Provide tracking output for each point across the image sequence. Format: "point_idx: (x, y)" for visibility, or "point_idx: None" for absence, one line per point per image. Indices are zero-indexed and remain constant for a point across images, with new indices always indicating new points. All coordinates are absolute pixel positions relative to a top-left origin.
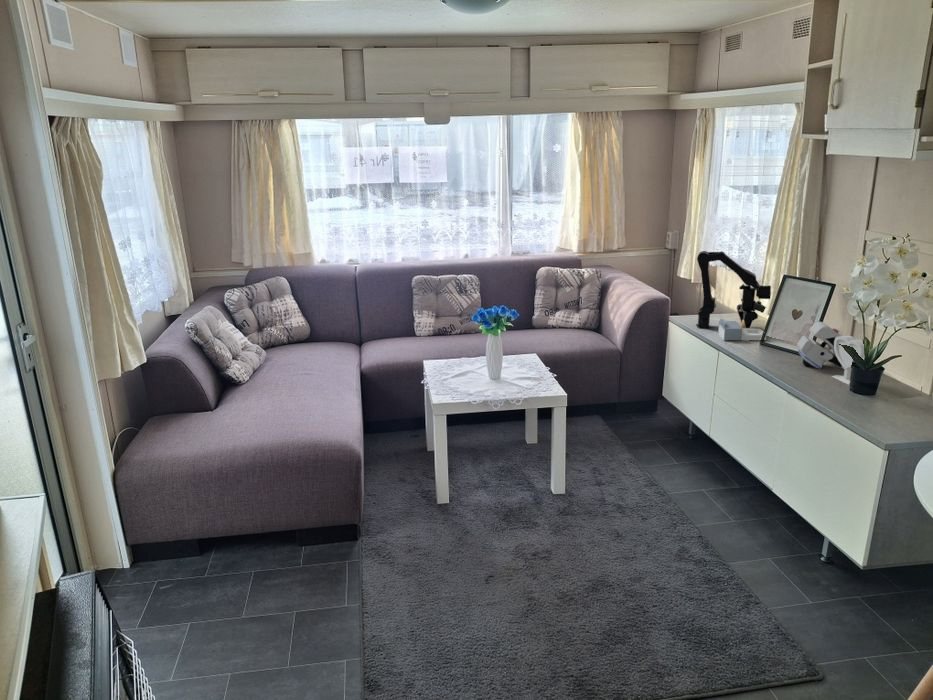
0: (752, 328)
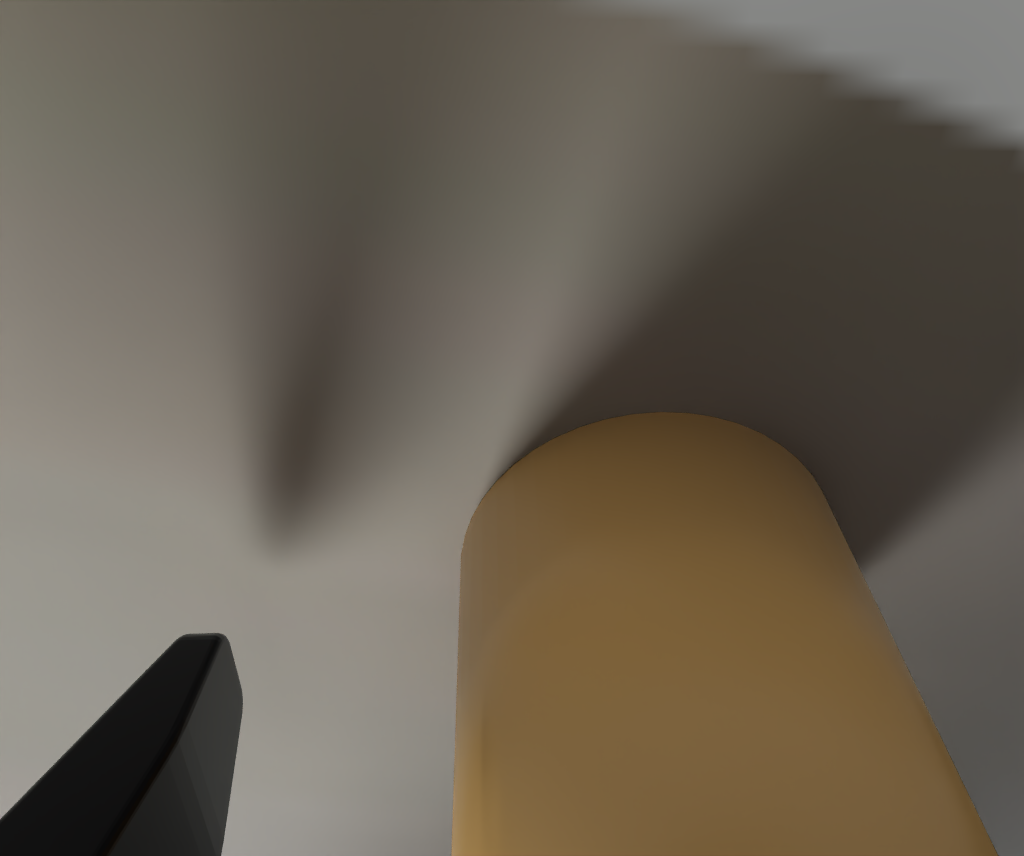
0: None
